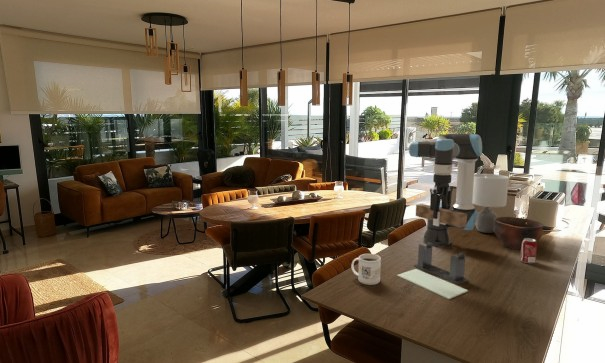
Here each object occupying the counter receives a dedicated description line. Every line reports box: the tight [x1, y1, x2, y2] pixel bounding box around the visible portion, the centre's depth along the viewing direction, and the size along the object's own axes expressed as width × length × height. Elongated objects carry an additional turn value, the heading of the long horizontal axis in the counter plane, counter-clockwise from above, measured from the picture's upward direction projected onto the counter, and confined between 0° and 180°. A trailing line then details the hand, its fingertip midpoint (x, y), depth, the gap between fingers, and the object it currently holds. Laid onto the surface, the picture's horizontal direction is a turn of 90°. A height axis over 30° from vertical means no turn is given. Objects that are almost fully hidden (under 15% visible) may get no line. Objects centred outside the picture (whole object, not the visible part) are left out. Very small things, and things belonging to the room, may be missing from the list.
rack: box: [413, 242, 469, 285], centre depth 181 cm, size 25×7×12 cm, turn 34°
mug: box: [350, 253, 382, 286], centre depth 174 cm, size 10×12×11 cm
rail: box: [415, 203, 467, 228], centre depth 172 cm, size 24×4×6 cm, turn 34°
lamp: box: [472, 173, 510, 234], centre depth 245 cm, size 21×21×37 cm
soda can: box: [519, 238, 538, 265], centre depth 195 cm, size 7×7×12 cm
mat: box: [396, 268, 469, 300], centre depth 171 cm, size 28×13×1 cm, turn 34°
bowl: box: [493, 216, 545, 251], centre depth 218 cm, size 25×25×15 cm
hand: (439, 224), depth 173 cm, fingers closed on rail, 4 cm apart
